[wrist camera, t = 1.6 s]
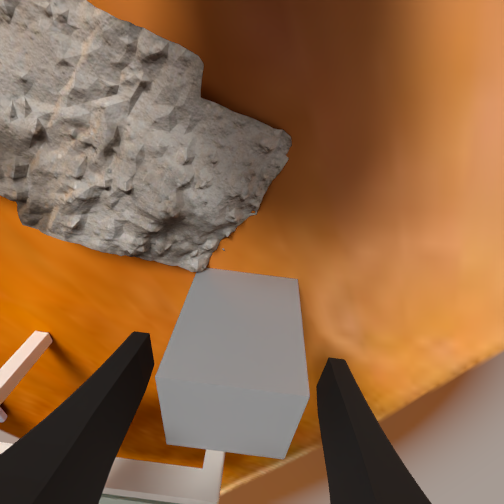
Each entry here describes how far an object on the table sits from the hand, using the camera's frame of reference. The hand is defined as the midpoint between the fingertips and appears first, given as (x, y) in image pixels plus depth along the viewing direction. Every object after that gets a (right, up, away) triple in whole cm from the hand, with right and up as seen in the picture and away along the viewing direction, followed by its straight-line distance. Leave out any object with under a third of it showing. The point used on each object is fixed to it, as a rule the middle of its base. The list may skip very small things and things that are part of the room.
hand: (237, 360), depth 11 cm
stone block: (0, +2, +3) cm, 3 cm away
